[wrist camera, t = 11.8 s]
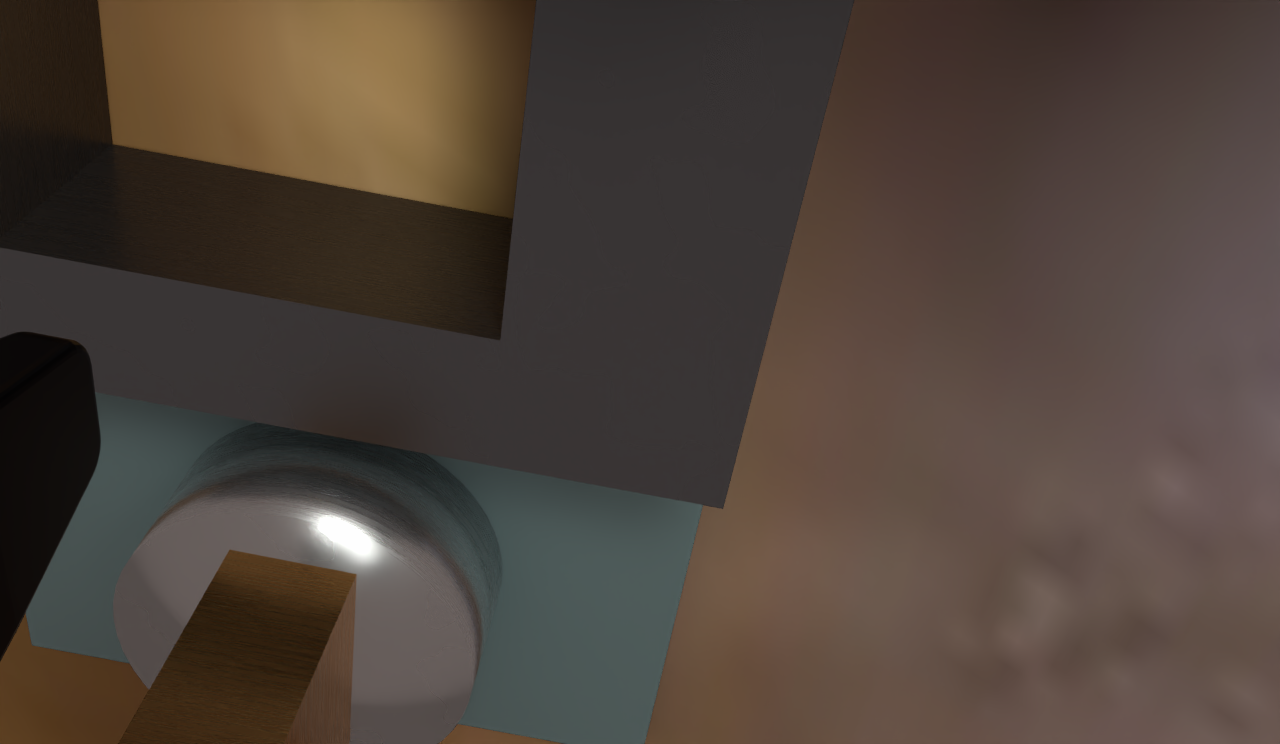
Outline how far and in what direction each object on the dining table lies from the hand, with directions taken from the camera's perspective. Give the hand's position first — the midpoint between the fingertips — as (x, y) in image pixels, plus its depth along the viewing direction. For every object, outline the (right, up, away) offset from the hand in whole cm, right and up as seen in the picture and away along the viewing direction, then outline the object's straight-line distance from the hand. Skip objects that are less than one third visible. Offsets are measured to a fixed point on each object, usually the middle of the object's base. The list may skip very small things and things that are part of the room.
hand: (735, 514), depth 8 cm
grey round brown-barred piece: (-7, -3, +18) cm, 19 cm away
